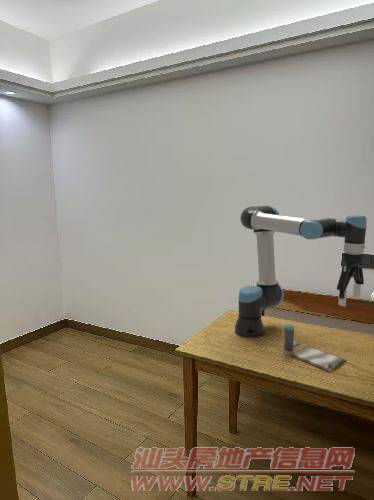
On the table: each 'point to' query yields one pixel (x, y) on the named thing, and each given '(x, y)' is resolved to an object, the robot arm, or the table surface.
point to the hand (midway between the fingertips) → (349, 302)
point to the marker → (289, 339)
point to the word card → (295, 343)
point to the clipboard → (318, 358)
